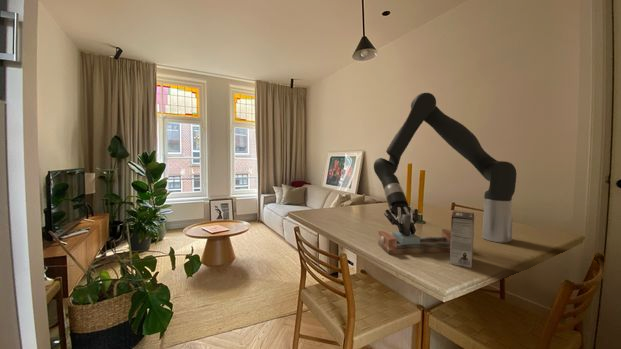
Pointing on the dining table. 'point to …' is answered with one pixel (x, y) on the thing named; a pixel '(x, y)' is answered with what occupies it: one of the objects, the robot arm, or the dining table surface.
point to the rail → (425, 246)
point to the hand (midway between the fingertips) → (408, 233)
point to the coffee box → (462, 239)
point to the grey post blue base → (406, 232)
